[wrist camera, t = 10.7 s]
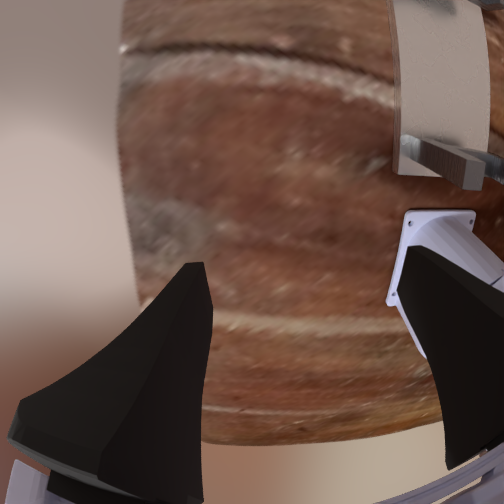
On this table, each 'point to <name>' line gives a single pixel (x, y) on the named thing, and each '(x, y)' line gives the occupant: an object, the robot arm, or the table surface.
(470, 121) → the hook stand
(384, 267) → the table surface
